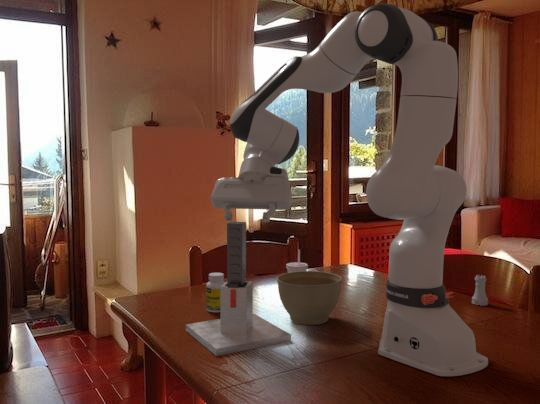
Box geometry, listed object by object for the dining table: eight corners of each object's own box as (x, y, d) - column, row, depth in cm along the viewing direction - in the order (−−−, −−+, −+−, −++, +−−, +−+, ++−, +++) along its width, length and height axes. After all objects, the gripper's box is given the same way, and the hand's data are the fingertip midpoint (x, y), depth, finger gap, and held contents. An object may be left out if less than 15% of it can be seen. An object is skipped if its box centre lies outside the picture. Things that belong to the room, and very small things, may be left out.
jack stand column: (246, 325, 119) (246, 222, 117) (242, 330, 115) (242, 224, 113) (231, 324, 120) (230, 221, 118) (226, 329, 116) (225, 223, 114)
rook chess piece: (485, 302, 147) (486, 274, 146) (490, 306, 142) (491, 277, 142) (469, 301, 147) (470, 273, 147) (473, 306, 143) (474, 277, 142)
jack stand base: (253, 319, 130) (253, 269, 129) (291, 341, 115) (291, 284, 114) (185, 330, 121) (185, 277, 120) (216, 356, 106) (215, 294, 105)
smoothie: (308, 299, 148) (308, 251, 147) (286, 299, 149) (286, 251, 147) (307, 294, 155) (307, 247, 154) (285, 293, 155) (286, 247, 154)
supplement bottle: (202, 311, 137) (202, 274, 136) (213, 306, 142) (213, 271, 141) (219, 314, 135) (219, 277, 134) (230, 308, 139) (230, 273, 139)
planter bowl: (322, 308, 140) (323, 268, 139) (353, 325, 125) (353, 281, 124) (267, 314, 135) (267, 273, 134) (292, 333, 120) (292, 287, 119)
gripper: (214, 169, 134) (202, 210, 125) (292, 169, 130) (286, 212, 121) (219, 185, 138) (208, 226, 130) (295, 186, 134) (289, 228, 126)
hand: (246, 219), depth 125 cm, fingers open, 8 cm apart
